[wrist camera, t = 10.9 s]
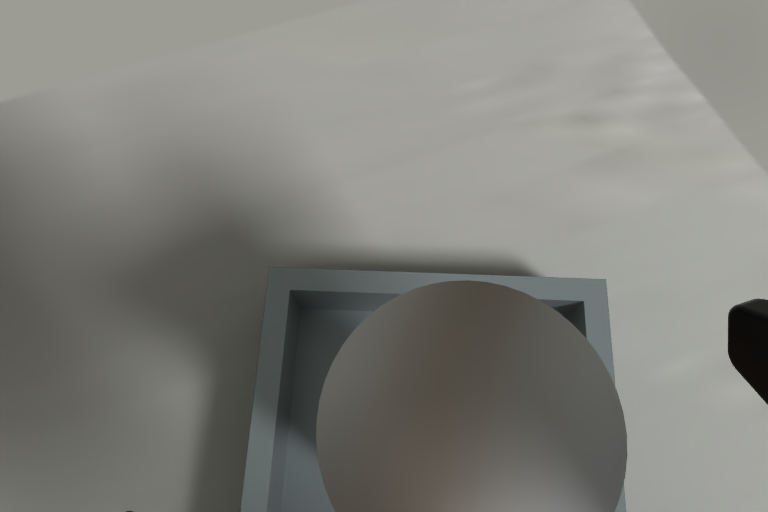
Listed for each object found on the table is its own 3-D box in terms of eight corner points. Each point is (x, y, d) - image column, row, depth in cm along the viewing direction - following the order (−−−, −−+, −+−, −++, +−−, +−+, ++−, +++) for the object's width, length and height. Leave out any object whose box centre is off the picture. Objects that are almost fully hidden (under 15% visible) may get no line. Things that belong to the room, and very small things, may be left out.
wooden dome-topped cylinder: (514, 371, 22) (638, 258, 11) (520, 554, 20) (682, 652, 9) (350, 365, 22) (302, 248, 11) (339, 546, 20) (266, 631, 9)
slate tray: (581, 303, 23) (605, 279, 21) (605, 651, 19) (640, 680, 17) (284, 292, 24) (269, 266, 21) (247, 630, 20) (223, 655, 17)
